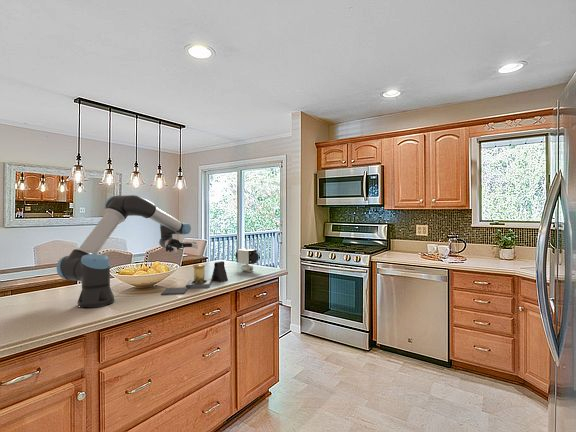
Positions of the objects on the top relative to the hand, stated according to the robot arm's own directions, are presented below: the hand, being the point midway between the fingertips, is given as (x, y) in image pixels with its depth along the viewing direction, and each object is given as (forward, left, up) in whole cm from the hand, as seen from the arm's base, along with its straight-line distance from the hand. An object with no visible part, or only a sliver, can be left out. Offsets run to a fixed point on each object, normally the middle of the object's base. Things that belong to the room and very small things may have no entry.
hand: (187, 248), depth 196 cm
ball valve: (+30, -37, -22) cm, 52 cm away
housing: (-8, -8, -21) cm, 24 cm away
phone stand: (+3, -19, -22) cm, 29 cm away
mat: (-22, +3, -21) cm, 30 cm away
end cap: (-8, -8, -21) cm, 24 cm away
